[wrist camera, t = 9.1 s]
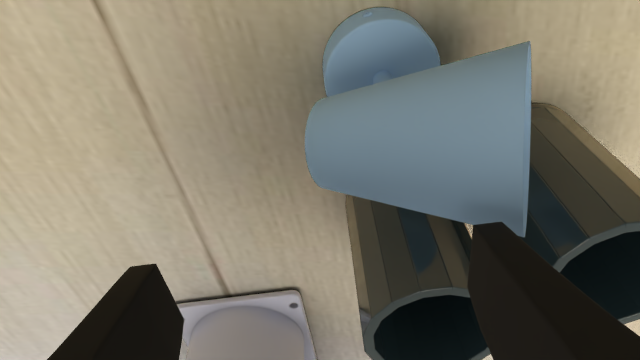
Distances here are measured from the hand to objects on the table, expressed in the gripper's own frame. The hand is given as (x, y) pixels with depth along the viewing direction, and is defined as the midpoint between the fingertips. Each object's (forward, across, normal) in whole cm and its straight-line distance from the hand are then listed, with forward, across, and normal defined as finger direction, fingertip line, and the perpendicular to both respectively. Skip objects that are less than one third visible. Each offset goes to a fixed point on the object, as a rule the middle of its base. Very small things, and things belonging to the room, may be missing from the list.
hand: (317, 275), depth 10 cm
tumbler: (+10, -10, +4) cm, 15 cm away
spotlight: (+10, -3, -1) cm, 11 cm away
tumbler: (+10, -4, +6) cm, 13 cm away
